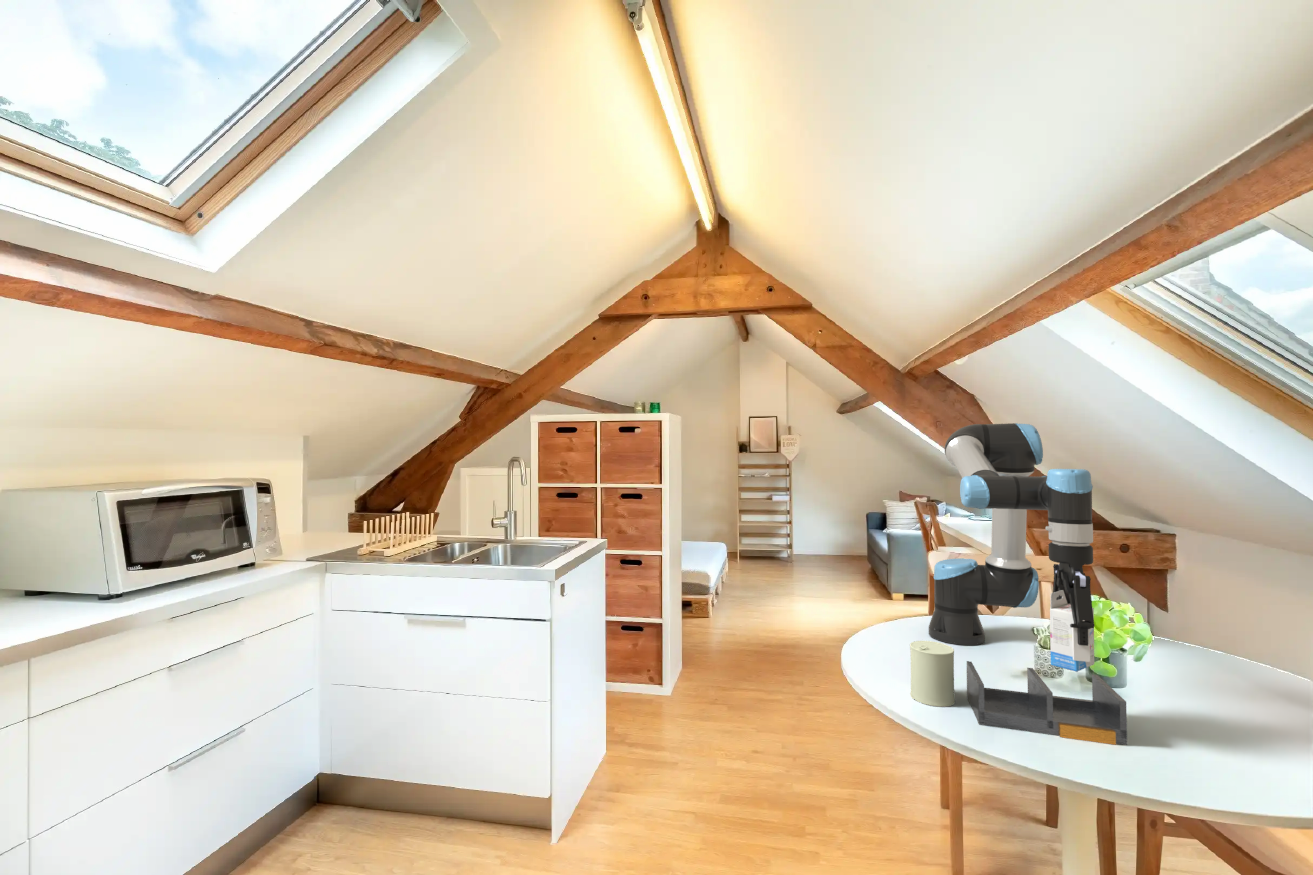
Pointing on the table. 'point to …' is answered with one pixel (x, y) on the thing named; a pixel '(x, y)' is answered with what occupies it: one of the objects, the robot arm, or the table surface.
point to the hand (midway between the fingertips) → (1072, 652)
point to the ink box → (1065, 635)
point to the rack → (1050, 710)
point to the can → (932, 673)
